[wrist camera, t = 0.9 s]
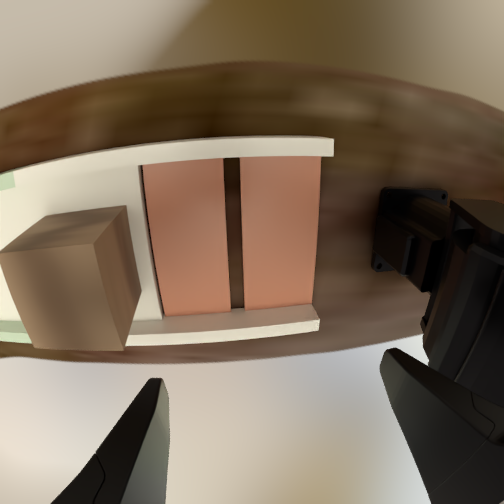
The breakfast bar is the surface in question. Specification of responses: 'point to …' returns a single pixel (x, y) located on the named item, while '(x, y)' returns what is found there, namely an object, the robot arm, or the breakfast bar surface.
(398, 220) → the robot arm
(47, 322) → the walnut block
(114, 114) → the breakfast bar surface
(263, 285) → the trap channel
